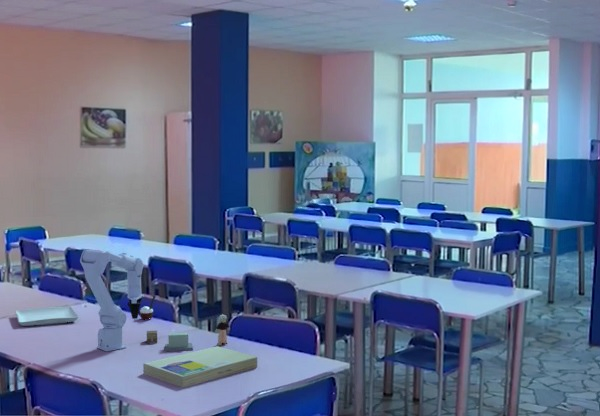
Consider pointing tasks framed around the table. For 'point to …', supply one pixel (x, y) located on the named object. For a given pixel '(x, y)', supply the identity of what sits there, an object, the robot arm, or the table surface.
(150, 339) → the plain olive brown cube
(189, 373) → the puzzle box
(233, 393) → the table surface
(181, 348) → the rubber mat
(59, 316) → the square plate
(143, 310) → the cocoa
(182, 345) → the tall sage green block
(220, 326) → the grandmother figurine
